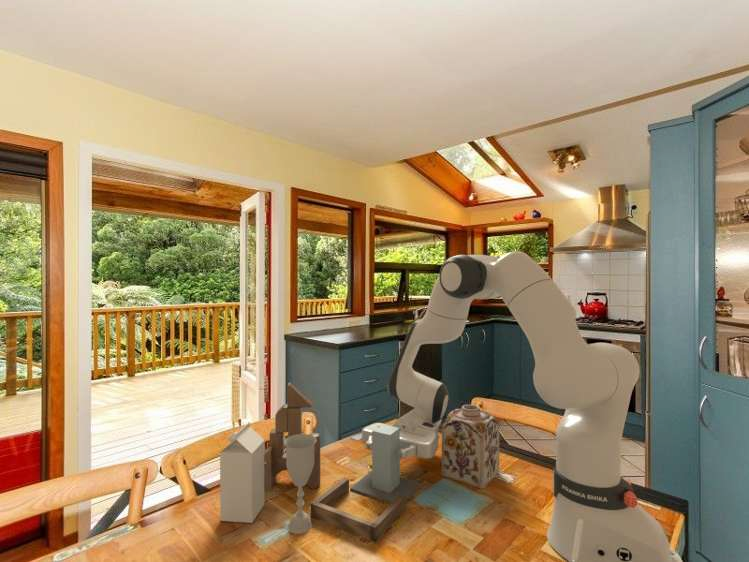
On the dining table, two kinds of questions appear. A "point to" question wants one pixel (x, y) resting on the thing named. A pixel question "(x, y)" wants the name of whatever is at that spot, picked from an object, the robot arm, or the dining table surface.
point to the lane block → (385, 458)
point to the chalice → (300, 475)
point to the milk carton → (242, 476)
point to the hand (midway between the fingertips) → (384, 450)
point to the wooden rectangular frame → (351, 522)
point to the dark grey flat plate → (403, 489)
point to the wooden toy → (289, 422)
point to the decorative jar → (470, 446)
